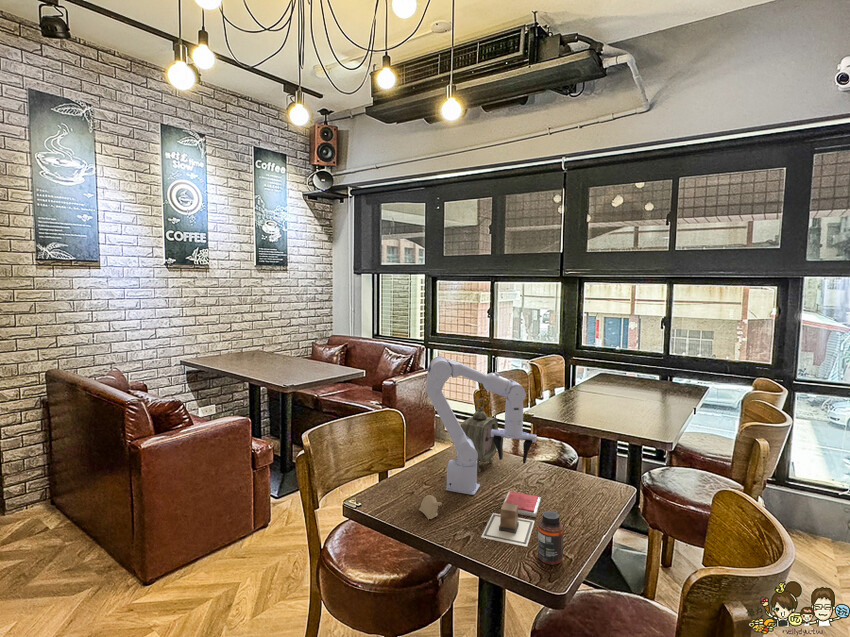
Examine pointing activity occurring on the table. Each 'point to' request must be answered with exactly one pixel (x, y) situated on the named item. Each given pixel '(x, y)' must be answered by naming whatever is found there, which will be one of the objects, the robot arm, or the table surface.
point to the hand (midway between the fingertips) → (512, 460)
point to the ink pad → (524, 503)
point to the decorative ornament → (430, 506)
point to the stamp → (509, 518)
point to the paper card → (511, 538)
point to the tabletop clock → (481, 434)
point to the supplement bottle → (550, 538)
